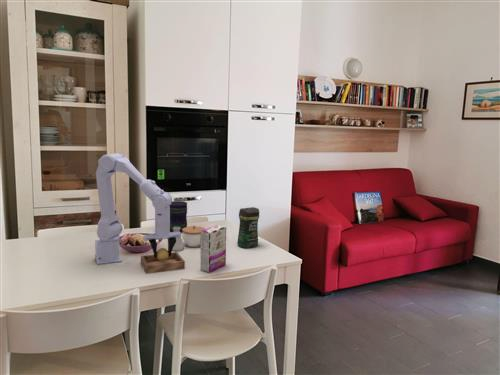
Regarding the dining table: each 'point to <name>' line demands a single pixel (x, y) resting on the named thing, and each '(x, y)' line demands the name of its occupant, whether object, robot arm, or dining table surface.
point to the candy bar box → (213, 248)
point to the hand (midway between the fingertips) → (162, 256)
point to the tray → (162, 263)
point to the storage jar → (178, 215)
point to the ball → (162, 254)
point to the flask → (178, 241)
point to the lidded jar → (192, 235)
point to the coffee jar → (248, 227)
